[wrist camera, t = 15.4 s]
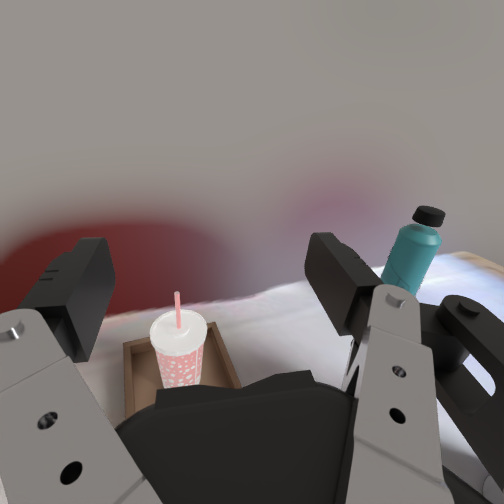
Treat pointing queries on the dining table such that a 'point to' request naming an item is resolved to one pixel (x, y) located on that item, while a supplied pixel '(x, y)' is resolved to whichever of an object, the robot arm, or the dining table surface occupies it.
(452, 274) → the dining table surface
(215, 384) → the walnut tray
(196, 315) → the beverage cup
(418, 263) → the beverage bottle
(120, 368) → the dining table surface
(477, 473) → the dining table surface
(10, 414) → the robot arm
